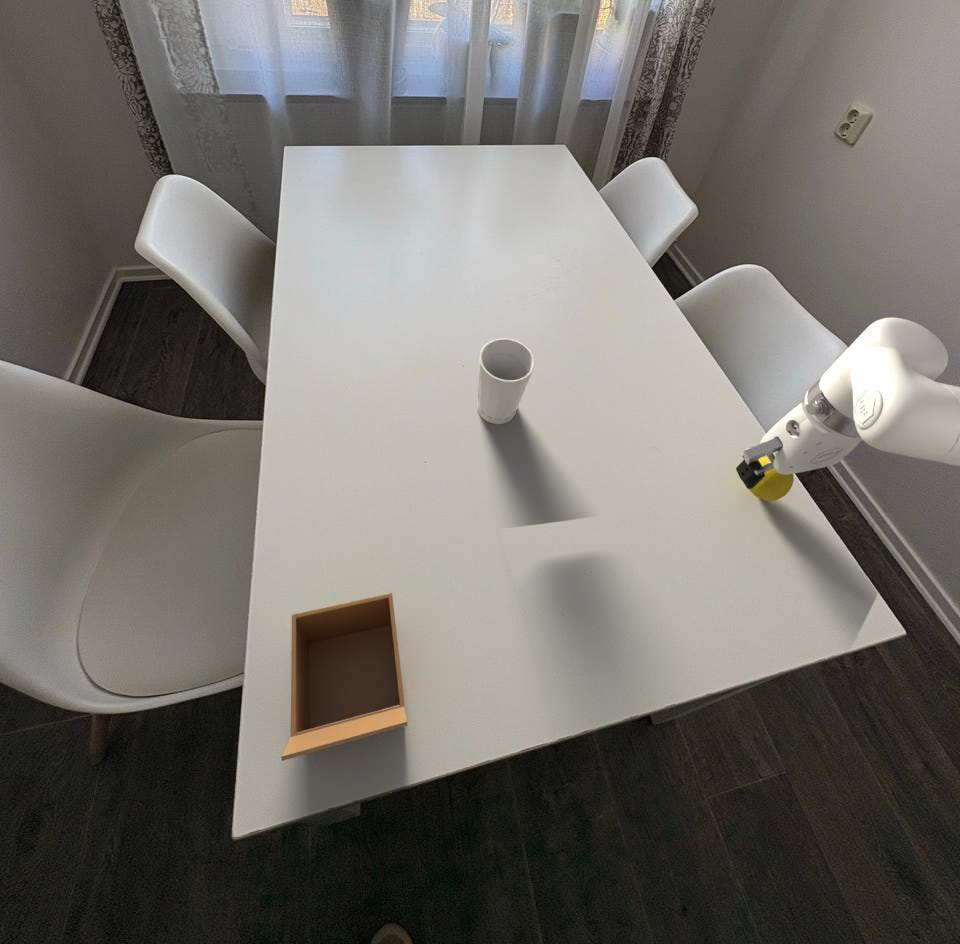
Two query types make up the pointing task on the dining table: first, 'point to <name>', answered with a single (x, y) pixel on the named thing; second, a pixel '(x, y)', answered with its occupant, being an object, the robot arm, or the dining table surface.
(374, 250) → the dining table surface
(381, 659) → the open wooden box
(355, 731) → the flap
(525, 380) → the cup
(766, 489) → the lemon
